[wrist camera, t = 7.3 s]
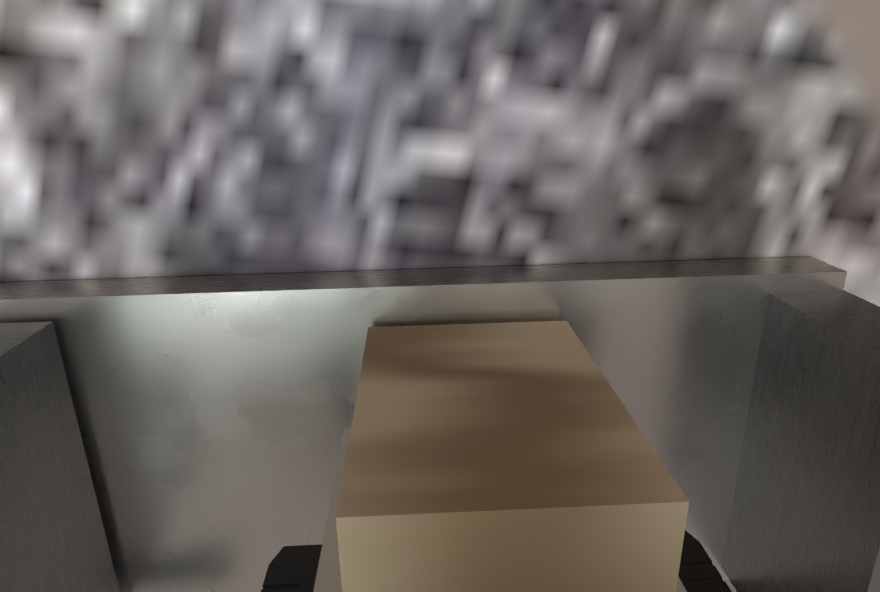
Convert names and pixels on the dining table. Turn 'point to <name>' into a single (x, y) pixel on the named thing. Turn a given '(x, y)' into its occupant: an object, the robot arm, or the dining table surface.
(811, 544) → the fixed jaw
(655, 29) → the dining table surface
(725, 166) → the dining table surface
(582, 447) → the block
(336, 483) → the robot arm
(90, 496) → the sliding jaw
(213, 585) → the vise bed
